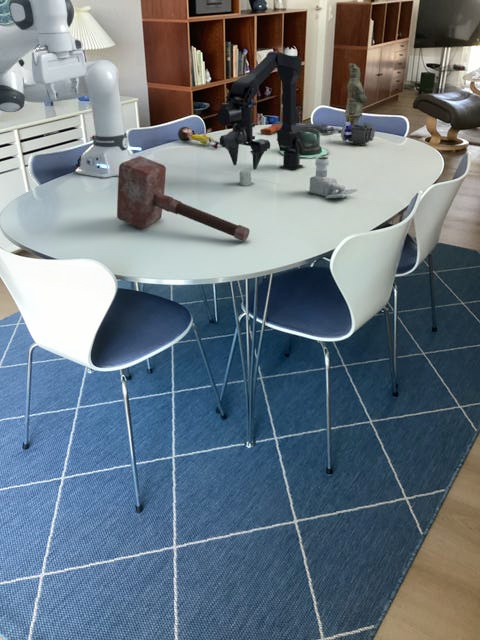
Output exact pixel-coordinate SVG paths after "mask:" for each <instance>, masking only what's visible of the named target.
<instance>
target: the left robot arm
mask: <svg viewBox="0 0 480 640" xmlns="http://www.w3.org/2000/svg"><path fill="white" fill-rule="evenodd" d="M8 5H9V6H8V9H9V10H8V11H9V14H10V18H11V20H12V22H13V23H14V24H15V25H16V26H12V27H3V28H0V111H1V112H6V113H15V112H18V111H20V110H22V109H23V108H24V106H25V102H27V103H39V104H41V103H52V102H54V103H55V102H61V101H69V100H76V99H79V98H84V97H88V101H89V104H90V109H91V113H92V114H91V115H92V121H93V126H94V133H95V134H93V135H92V136H90V137H89V141H92V145H91V146H90V147H88V148H87V149H86V150H85V151H84V152H83V153H82V154H81V155H79V158H78V159H77V163H75V167H77V168H76V169H75V174H79V175H85V176H90V177H97V178H111V177H116V176H118V177H119V166H120V164H121V163H123V162H126V161H128V160H131V156H130V152H129V150H135V151H142V147H134V146H129V142H128V135H127V132H126V126H125V119H124V118H125V117H124V110H123V106H122V101H121V94H120V89H119V88H120V87H119V84H120V79H121V76H120V72H119V70H118V67H117V66H116V65H115V63H113V62H111V60H106V59H99V60H92V61H86V56H85V53H84V51H83V49H84V43H83V41H82V40H81V39H79V38H76V37H74V36H72V35H71V29H70V27H71V25H72V23H73V20H74V17H75V8H74V4H73V2H72V1H71V0H9V4H8ZM29 53H31V70H30V69H26V68H24V67H23V66H24V65H25V63H26V62H25V61H24V59H23V58H24V57H25V56H27V55H28V54H29Z"/></svg>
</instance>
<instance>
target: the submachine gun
mask: <svg viewBox="0 0 480 640" xmlns="http://www.w3.org/2000/svg"><path fill="white" fill-rule="evenodd" d="M296 125H297V127H298V128H311V129H316V130H318V131H319V132H320V133H322V135H323V136H329V135H331V134H333V133H334V132H335V128H334V126H331V127H329V126H328V125H327V124H315V123H305V122H304V123H303V122H296ZM281 126H282V121H274V122H273V123H272V124H271V125H270V126H268V127H265V128H261V129H260V133H261V134H263V135H271V134H274V133H277V130H280V128H281ZM328 127H329V128H328Z"/></svg>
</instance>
